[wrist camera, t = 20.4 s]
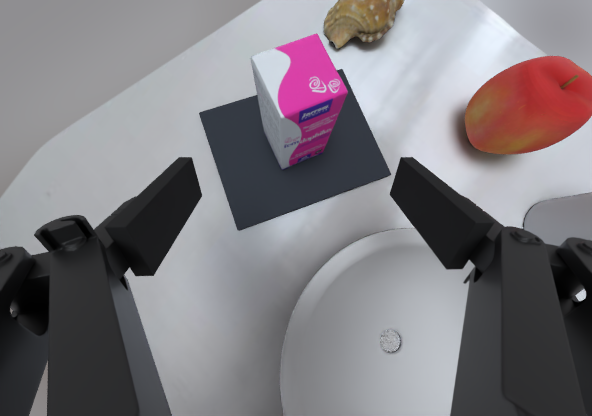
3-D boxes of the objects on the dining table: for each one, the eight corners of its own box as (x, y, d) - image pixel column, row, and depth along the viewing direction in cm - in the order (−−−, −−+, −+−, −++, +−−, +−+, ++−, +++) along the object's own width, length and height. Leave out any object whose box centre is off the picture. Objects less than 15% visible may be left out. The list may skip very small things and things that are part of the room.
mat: (200, 115, 28) (198, 112, 28) (341, 72, 30) (342, 68, 29) (238, 230, 26) (237, 230, 25) (389, 175, 28) (391, 174, 27)
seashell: (340, 21, 35) (390, -63, 27) (373, 59, 36) (431, -12, 28) (310, 25, 30) (362, -79, 22) (349, 70, 30) (414, -15, 22)
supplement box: (282, 172, 27) (278, 118, 15) (263, 132, 27) (246, 51, 16) (324, 155, 27) (350, 89, 16) (304, 115, 28) (316, 27, 17)
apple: (505, 180, 28) (622, 144, 18) (435, 151, 28) (514, 101, 19) (521, 118, 30) (636, 55, 20) (455, 92, 30) (536, 18, 20)
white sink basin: (267, 250, 25) (260, 251, 19) (459, 218, 27) (513, 209, 20) (301, 494, 21) (307, 603, 15) (525, 440, 23) (619, 518, 16)
